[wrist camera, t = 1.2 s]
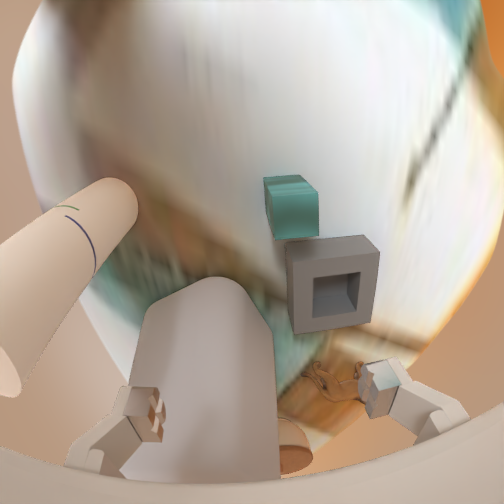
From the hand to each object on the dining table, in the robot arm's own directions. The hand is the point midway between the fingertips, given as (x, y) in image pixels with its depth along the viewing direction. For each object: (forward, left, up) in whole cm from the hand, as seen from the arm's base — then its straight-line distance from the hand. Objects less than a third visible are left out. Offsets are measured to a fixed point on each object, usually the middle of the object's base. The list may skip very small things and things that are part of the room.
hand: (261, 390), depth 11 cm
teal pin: (-1, +5, -25) cm, 26 cm away
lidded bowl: (+45, +2, -25) cm, 52 cm away
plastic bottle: (+17, -6, -25) cm, 31 cm away
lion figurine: (+29, +14, -25) cm, 41 cm away
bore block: (+10, +10, -25) cm, 29 cm away
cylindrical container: (-2, -15, -25) cm, 30 cm away
